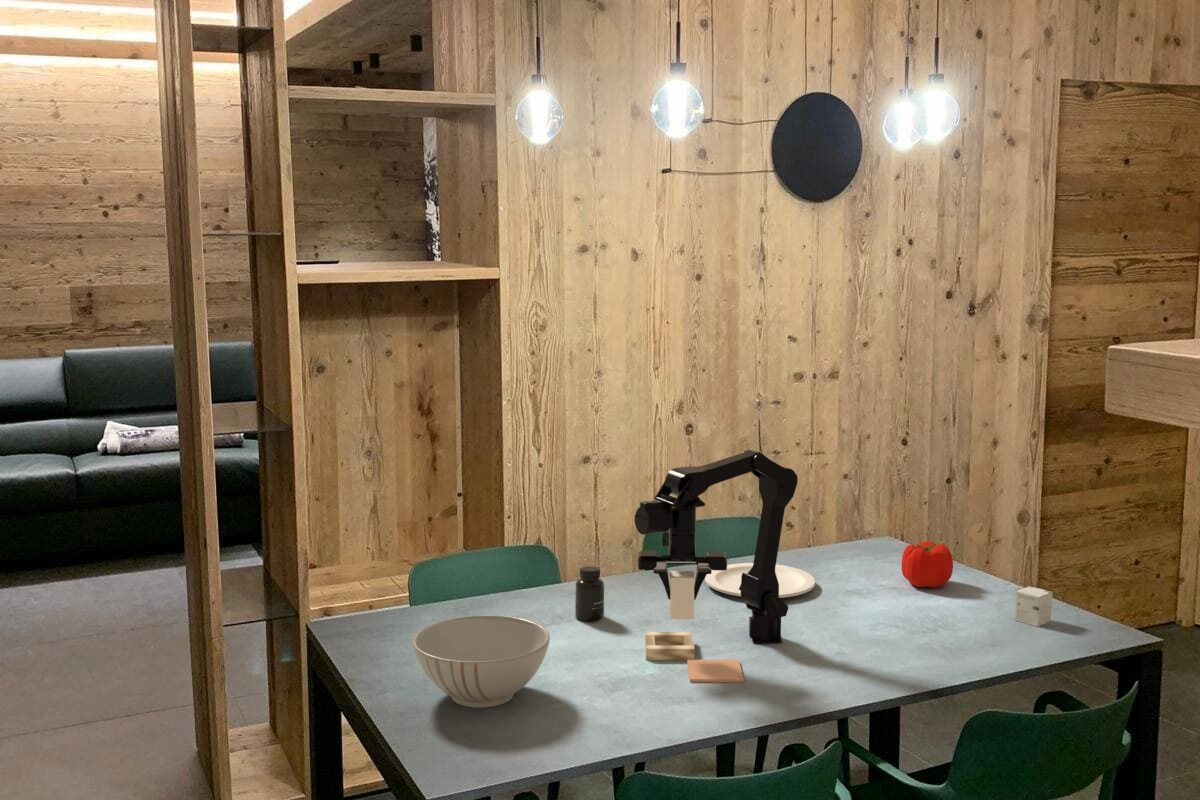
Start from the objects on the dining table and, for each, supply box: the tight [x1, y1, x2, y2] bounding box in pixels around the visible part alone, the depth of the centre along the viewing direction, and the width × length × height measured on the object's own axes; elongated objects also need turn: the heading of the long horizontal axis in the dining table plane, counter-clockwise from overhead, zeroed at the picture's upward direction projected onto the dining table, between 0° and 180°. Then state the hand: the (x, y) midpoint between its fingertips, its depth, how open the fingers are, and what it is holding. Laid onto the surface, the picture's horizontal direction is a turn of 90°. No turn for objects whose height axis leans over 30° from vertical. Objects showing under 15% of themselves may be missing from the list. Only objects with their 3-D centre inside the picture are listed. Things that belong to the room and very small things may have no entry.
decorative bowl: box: [412, 614, 550, 709], centre depth 236 cm, size 27×27×12 cm
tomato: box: [901, 540, 954, 589], centre depth 307 cm, size 14×13×10 cm
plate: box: [704, 562, 816, 599], centre depth 307 cm, size 28×28×2 cm
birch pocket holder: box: [644, 631, 696, 661], centre depth 261 cm, size 10×10×2 cm
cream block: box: [669, 570, 695, 620], centre depth 255 cm, size 5×5×9 cm
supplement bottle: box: [574, 565, 605, 623], centre depth 282 cm, size 7×7×12 cm
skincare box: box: [1014, 586, 1054, 627], centre depth 279 cm, size 6×6×7 cm
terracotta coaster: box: [686, 659, 745, 683], centre depth 249 cm, size 11×11×1 cm
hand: (682, 599), depth 256 cm, fingers closed on cream block, 5 cm apart
